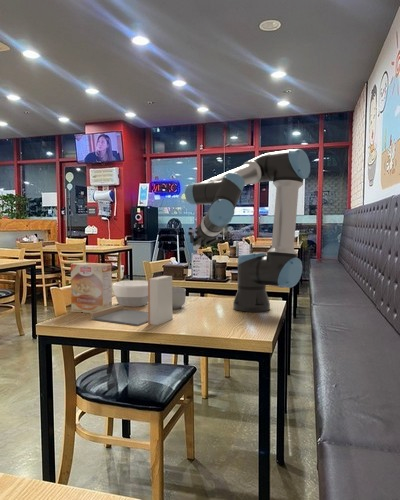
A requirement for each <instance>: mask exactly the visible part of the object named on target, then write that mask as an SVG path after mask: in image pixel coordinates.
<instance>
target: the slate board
mask: <svg viewBox="0 0 400 500" xmlns="http://www.w3.org/2000/svg"><path fill="white" fill-rule="evenodd" d="M90 320H91V321H99V322H107V323H115V324H121V325H128V326H129V325H130V326H135V327H139V326H141V325H145V324H148V311H144V310H143V311H142V310H135V309H134V310H133V309H125V308H124V306H123V305H119V304H118V305H114V306H112V307H110V308H107V309H103V310H100V311H96V312H93V313H90Z"/></svg>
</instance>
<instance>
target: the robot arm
mask: <svg viewBox="0 0 400 500" xmlns="http://www.w3.org/2000/svg"><path fill="white" fill-rule="evenodd" d="M310 174H311V163H310V159H309V157H308V154H307V153H306V151H304V150H303V149H301V148H294V149H293V148H289V149H286V150H284V149H283V150H279V151H272V152H266V153H264V154H263V153H262V154H261V155H258V156H256V157H254V158H252V159H249V160H246V161H245V162H244V163H243V164H242V165H241V166H238V167H236V168H233V169H231V170H228V171H226V172H223V173H221V174H218V175H217V176H212V177H210V178H208V179H206V180H204V181H201V182H194V183H190V184H188V185H187V186H186V187H185V191H184V197H185V200H186V202H188V204H190V205H196V206H198V205H199V206H200V205H210V207H209V209H208V211H207V212H206V214H205V215H204V217H203V218H202V219H201V221H200V222H199V224H198V226H197V227H195V228H192V227H188V231H187V232H188V233H187V234H188V236H189V242H190V243H191V244H192V246H193V248H192V249H193V251H198V250H199V248H204V247H205V245H206V247H207V246H211V245H213V244H214V243H216V242H218V241H222V240H223V232H222V231H223V230H224V229H225V227H226V226H227V225H229V223H231V221H232V219H233V217H234V216H235V213H236V212H235V209H236V206H237V204H238V202H239V200H240V197H241V195H242V194H243V190H244V188H245V186H247V185H255V184H258V183H264V182H272V184H273V185H274V187H275V199H274V200H275V201H274V203H275V204H274V213H273V224H272V225H273V227H272V236H271V237H272V238H271V247H270V248H269V249H268V250H267V251H266V252H256V253H245V254H244V253H243V254H241V255H239V256H238V257H237V265H236V266H237V292H236V294H235V297H234V300H233V304H232V305H233V309H234V310H236V311H240V312H245V313H259V312H267V311H269V310H270V309H271V303H270V300H269V296H268V293H267V289H266V288H267V286H269V287H279V288H289V289H291V288H293V287H295V286H296V285H298V283H299V281H300V280H301V278H302V273H303V262H302V260H301V259H300V258H298V252H297V251H296V250H295V239H296V238H295V237H296V227H297V226H296V225H297V213H298V212H297V211H298V199H299V189H300V188H301V187H303V185H304V180H305V179H308V178H309V176H310Z"/></svg>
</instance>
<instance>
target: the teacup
mask: <svg viewBox="0 0 400 500" xmlns="http://www.w3.org/2000/svg"><path fill="white" fill-rule="evenodd" d="M186 291H187V290H186V288H184V287H180V286H172V310H174V309H177V310H178V309H180V308H182V307H183V306H184V305H185V303H186Z"/></svg>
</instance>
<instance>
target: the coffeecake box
mask: <svg viewBox="0 0 400 500" xmlns="http://www.w3.org/2000/svg"><path fill="white" fill-rule="evenodd" d="M112 278H113V277H112V263H101V262H100V263H98V262H96V263H95V262H73V263H71V264H70V295H71V296H70V297H71V298H70V299H71V300H70V301H71V305H70V306H71V312H72V313H81V312H83V314H91V313H93V312H96V311H100V310H103V309H107V308H110V307H113V304H112V303H113V297H112V296H113V293H112V292H113V291H112V290H113V288H112V285H113V283H112Z"/></svg>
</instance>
